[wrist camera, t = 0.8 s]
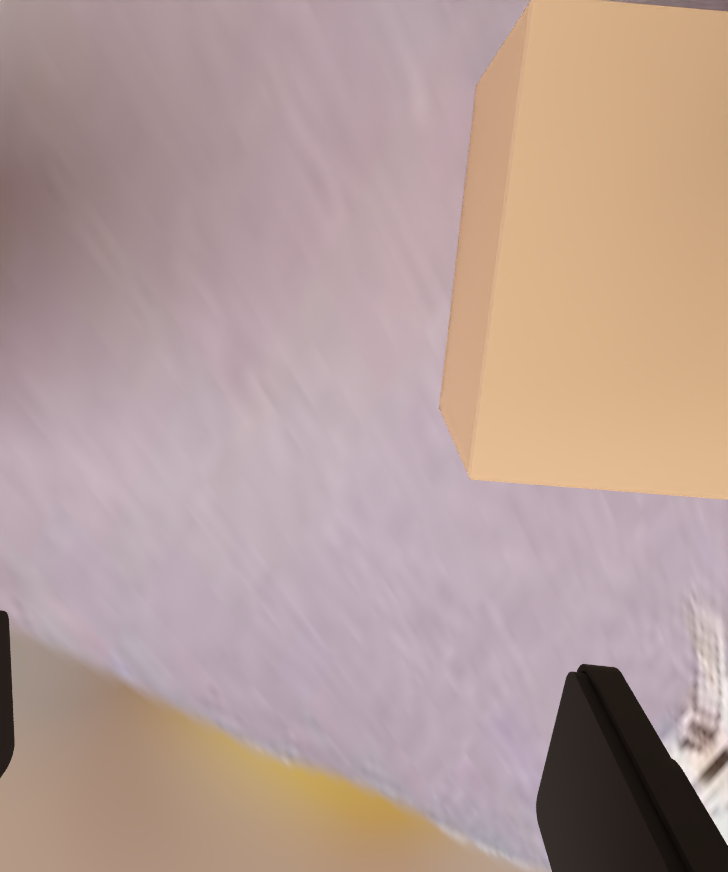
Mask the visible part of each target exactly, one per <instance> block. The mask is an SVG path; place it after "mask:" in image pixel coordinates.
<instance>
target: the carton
mask: <svg viewBox="0 0 728 872" xmlns="http://www.w3.org/2000/svg"><path fill="white" fill-rule="evenodd" d="M528 9H529V4H528V6H527V7H526V9H525V10H524V12H523V14H522V15H521V17H520V18H519V20H518V21H517V23H516V25H515V26H514V28H513V29H512V31H511V32H510V34H509V35H508V37H507V39H506V40H505V42H504V43H503V45H502V46H501V48H500V50H499V51H498V53H497V54H496V56H495V57H494V59H493V60H492V62H491V64H490V65H489V67H488V68H487V70H486V71H485V73H484V75H483V76H482V78H481V79H480V81H479V82H478V84H477V85H476V93H475V101H474V110H473V119H472V127H471V136H470V145H469V153H468V162H467V171H466V180H465V188H464V197H463V206H462V214H461V223H460V232H459V240H458V249H457V258H456V267H455V275H454V284H453V293H452V301H451V310H450V319H449V327H448V336H447V345H446V354H445V362H444V371H443V380H442V388H441V397H440V406H439V409H440V411H441V413H442V416H443V418H444V420H445V423H446V425H447V427H448V430H449V432H450V434H451V436H452V439H453V441H454V443H455V446H456V448H457V450H458V452H459V455H460V457H461V459H462V462H463V464H464V466H465V469H466V471H467V472H468V466H469V458H470V450H471V443H472V435H473V427H474V420H475V412H476V405H477V397H478V389H479V382H480V374H481V367H482V359H483V351H484V344H485V336H486V328H487V321H488V313H489V306H490V298H491V290H492V283H493V275H494V268H495V260H496V252H497V245H498V237H499V229H500V222H501V214H502V207H503V199H504V191H505V184H506V176H507V169H508V161H509V153H510V146H511V138H512V130H513V123H514V115H515V108H516V100H517V92H518V85H519V77H520V70H521V62H522V54H523V47H524V39H525V31H526V24H527V16H528Z"/></svg>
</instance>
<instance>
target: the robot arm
mask: <svg viewBox="0 0 728 872" xmlns="http://www.w3.org/2000/svg"><path fill="white" fill-rule="evenodd" d="M10 656H11V655H10V633H9V618H8V614H7V612H5V611H0V778H1V776H2V775H3V773H4V772H5V770H6V769H7V767H8V765H9V763H10V761H11V758H12V755H13V751H14V721H13V699H12V678H11V657H10ZM536 813H537V820H538V824H539V828H540V831H541V835H542V838H543V842H544V845H545V849H546V852H547V855H548V859H549V862H550V866H551V869H552V872H728V846H727V844H726V842H725V840H724V839H723V837H722V835H721V834H720V832H719V830H718V829H717V827H716V825H715V824H714V822H713V820H712V819H711V817H710V815H709V814H708V812H707V810H706V809H705V807H704V805H703V804H702V802H701V800H700V799H699V797H698V795H697V793H696V792H695V790H694V788H693V787H692V785H691V783H690V782H689V780H688V778H687V777H686V775H685V773H684V772H683V770H682V768H681V767H680V766H679V765H678V763H677V762H676V761H675V760H673V759H672V758H671V757H670V755H669V753H668V752H667V750H666V748H665V747H664V745H663V743H662V742H661V740H660V738H659V736H658V735H657V733H656V731H655V730H654V728H653V726H652V725H651V723H650V721H649V719H648V718H647V716H646V714H645V713H644V711H643V709H642V707H641V706H640V704H639V702H638V701H637V699H636V697H635V696H634V694H633V692H632V690H631V689H630V687H629V685H628V684H627V682H626V680H625V679H624V677H623V675H622V673H621V672H620V671H619V670H618V669H617V668H615V667H607V666H597V665H588V664H582V665H580V667H579V668H578V670H577V672H569V673H568V675H567V677H566V681H565V685H564V689H563V693H562V697H561V701H560V705H559V709H558V713H557V717H556V722H555V726H554V730H553V734H552V738H551V742H550V746H549V750H548V754H547V758H546V762H545V766H544V771H543V775H542V779H541V783H540V787H539V791H538V795H537V802H536Z"/></svg>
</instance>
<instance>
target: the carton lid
mask: <svg viewBox="0 0 728 872" xmlns="http://www.w3.org/2000/svg"><path fill="white" fill-rule="evenodd" d="M468 475H469V478H470V479H472V480H484V481H497V482H510V483H523V484H535V485H548V486H561V487H574V488H586V489H599V490H612V491H625V492H637V493H650V494H663V495H676V496H688V497H701V498H714V499H727V500H728V12H727V11H716V10H704V9H693V8H682V7H670V6H659V5H647V4H636V3H625V2H613V1H602V0H531V1H530V3H529V9H528V16H527V24H526V31H525V39H524V47H523V54H522V62H521V70H520V77H519V85H518V92H517V100H516V108H515V115H514V123H513V130H512V138H511V146H510V153H509V161H508V169H507V176H506V184H505V191H504V199H503V207H502V214H501V222H500V229H499V237H498V245H497V252H496V260H495V268H494V275H493V283H492V290H491V298H490V306H489V313H488V321H487V328H486V336H485V344H484V351H483V359H482V367H481V374H480V382H479V389H478V397H477V405H476V412H475V420H474V427H473V435H472V443H471V450H470V458H469V466H468Z"/></svg>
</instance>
